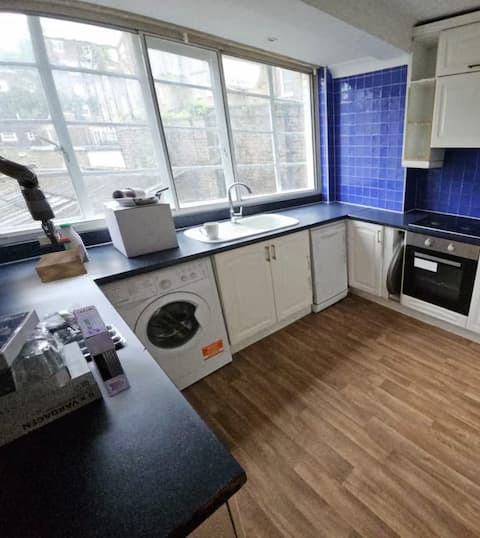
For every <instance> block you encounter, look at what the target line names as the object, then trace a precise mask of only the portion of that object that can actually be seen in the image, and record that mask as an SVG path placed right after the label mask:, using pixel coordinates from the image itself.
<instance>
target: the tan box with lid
mask: <svg viewBox="0 0 480 538" xmlns="http://www.w3.org/2000/svg"><path fill="white" fill-rule="evenodd" d="M89 261H90V259H89V257H87V254H86V252H85V250H84V247H83V245H82V244H80V245H78V249H73V250H67V251H66V250H61V251H57V252H51V253H46V254H42V255H41V257H40V259H39V260H38V262H37V264H36V265H35V268H34V269H35V271H36V273H37V275H38V277H39V279H40V282H41V283H43V284H44V283H48V282H54V281H58V280H63V279H67V278H72V277H76V275H77V276H81V275H80V274H82V275H85V273H86V274H88V273H87V272H88V270H87V268H86V265H85V264H84V263H86V262H89ZM71 276H72V277H71Z"/></svg>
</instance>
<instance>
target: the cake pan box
mask: <svg viewBox="0 0 480 538" xmlns="http://www.w3.org/2000/svg"><path fill="white" fill-rule="evenodd" d="M72 314H73V317H74V319H75V321H76V322H75V323H76V324H77V326H78V329H79V332H80V334H81V337H82V340H83V342H84V344H85V347H86V349H87V351H88V353H89V356H90V358H91V360H92V363H93V365H94V367H95V370H96V372H97V374H98V376H99V379H100V380H101V383H102V384H103V386H104V388H105V390H106V393H107V394H108V397H110V398H112V397H114V396H115V395H118V394H119V393H121V392H123V391H125V390H127V389H130V388H131V384H130V382H129V379H128V377H127V375H126V372H125V370H124V368H123V366H122V363H121V361H120V358H119V356H118V353H117V350H116V345H115V342H114V340H113V338H112V335H111V334H110V331H109V329H108V327H107V325H106V323H105V321H104V320H103V318H102V316H101V315H100V313H99V311H98V309H97V307H96V306H95V304H92V305H87V306H84V307H80V308H76V309H73V310H72Z"/></svg>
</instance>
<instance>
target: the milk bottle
mask: <svg viewBox="0 0 480 538" xmlns="http://www.w3.org/2000/svg"><path fill="white" fill-rule="evenodd" d="M59 228H60V230H61V232H62V234H61V238H63V237H70V239H71V240H72V242H71V243H67V244H63V246H64V248H65V251H67V250H73V249H78V245H80V244H82V245H83V247H84V250H85V252H86V254H87V257H88V258H89V257H90V256H89V253H88V250H87V249H86V246H85V244H84V242H83V240H82V237H81V236H80V235H79V233H77V232H76V231H75V230H74V229H73V225H72V224H71V223H69V222H67V223H62V224H60V225H59Z"/></svg>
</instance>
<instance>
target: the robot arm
mask: <svg viewBox="0 0 480 538" xmlns="http://www.w3.org/2000/svg"><path fill="white" fill-rule="evenodd" d="M0 174H2V175H3V176H4V175H5V176H7V177H9V178H10V179H11V178H12V179H13V180H16V182H17V184H18V186H19V188H20V193H21V195H22V198H23V200H24V202H25V205H26V207H27V209H28V212H29V214H30V215H31V216H30V217H31V218H32V220H33V221H35V222H41V223H40V227H41V229H42V230H43V232H44V235H46V236H47V238H49V239H50V241H51V243H52V245H55V246H59V245H58V244H59V243H58V241H57V239H56V236H55V234H58V231H57V228H56V226H55V223H54V221H53V219H55V218H56V215H55V213H54V211H53V208H52V206H51V204H50V202H49V200H48V199H47V196H46V195H45V193H44V191H43V189H42V187H41V185H40V182H39V181H40V180H39V179H38V176H37V173H36V171H35V170H34V169H33V168H32V167H31V166H29V165H25V164H20V163H17V162H16V161H13V160H10V159H7V158H5V157H4V156H1V155H0ZM51 234H52V235H51Z"/></svg>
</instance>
